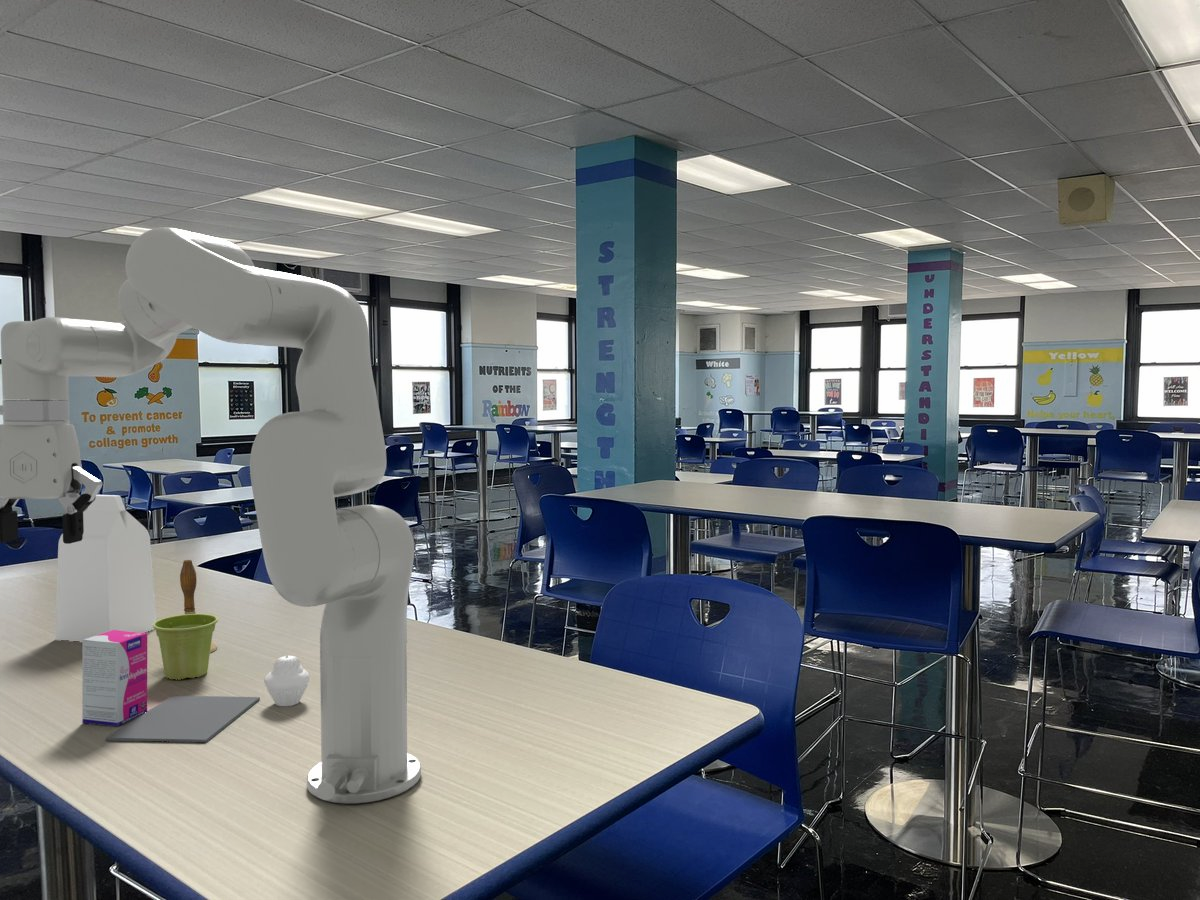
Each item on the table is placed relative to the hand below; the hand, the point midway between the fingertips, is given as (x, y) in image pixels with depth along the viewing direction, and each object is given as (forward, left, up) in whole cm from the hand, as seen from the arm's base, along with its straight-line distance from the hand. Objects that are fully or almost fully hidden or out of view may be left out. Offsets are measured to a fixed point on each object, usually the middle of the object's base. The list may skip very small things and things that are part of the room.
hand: (40, 541), depth 118 cm
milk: (+42, +17, -25) cm, 52 cm away
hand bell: (+32, -4, -25) cm, 41 cm away
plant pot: (+19, -10, -25) cm, 33 cm away
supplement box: (0, -10, -25) cm, 26 cm away
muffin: (+7, -31, -25) cm, 40 cm away
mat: (0, -20, -24) cm, 31 cm away
